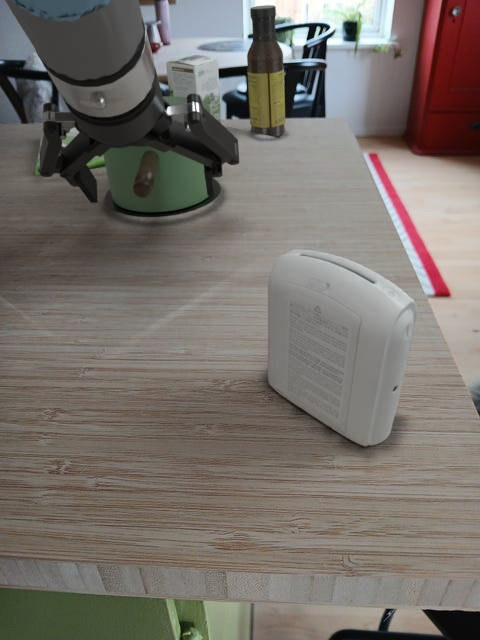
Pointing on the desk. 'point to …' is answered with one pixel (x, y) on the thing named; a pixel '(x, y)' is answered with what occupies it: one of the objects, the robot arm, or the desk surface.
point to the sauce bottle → (265, 75)
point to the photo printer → (338, 342)
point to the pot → (155, 176)
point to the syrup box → (196, 80)
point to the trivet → (119, 209)
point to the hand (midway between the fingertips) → (152, 188)
